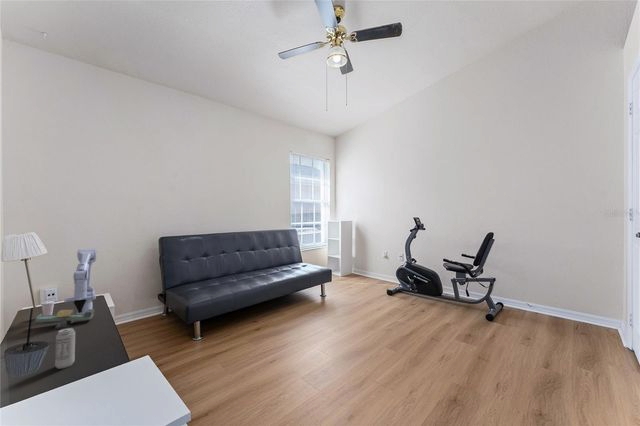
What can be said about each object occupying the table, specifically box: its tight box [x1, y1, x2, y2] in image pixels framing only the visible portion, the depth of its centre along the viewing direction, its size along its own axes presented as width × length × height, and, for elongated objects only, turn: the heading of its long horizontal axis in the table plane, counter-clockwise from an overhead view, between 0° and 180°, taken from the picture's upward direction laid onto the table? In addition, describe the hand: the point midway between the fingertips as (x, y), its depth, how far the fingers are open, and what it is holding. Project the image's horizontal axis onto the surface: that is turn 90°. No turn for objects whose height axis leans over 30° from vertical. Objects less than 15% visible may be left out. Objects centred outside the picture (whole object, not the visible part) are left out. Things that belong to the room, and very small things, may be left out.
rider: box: [56, 309, 74, 318], centre depth 163 cm, size 5×6×4 cm
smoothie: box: [40, 295, 56, 315], centre depth 176 cm, size 6×6×14 cm
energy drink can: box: [54, 327, 76, 370], centre depth 115 cm, size 6×6×15 cm
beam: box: [34, 308, 95, 323], centre depth 163 cm, size 9×25×4 cm, turn 119°
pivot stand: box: [54, 319, 76, 330], centre depth 163 cm, size 12×6×5 cm, turn 29°
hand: (80, 312), depth 166 cm, fingers closed
